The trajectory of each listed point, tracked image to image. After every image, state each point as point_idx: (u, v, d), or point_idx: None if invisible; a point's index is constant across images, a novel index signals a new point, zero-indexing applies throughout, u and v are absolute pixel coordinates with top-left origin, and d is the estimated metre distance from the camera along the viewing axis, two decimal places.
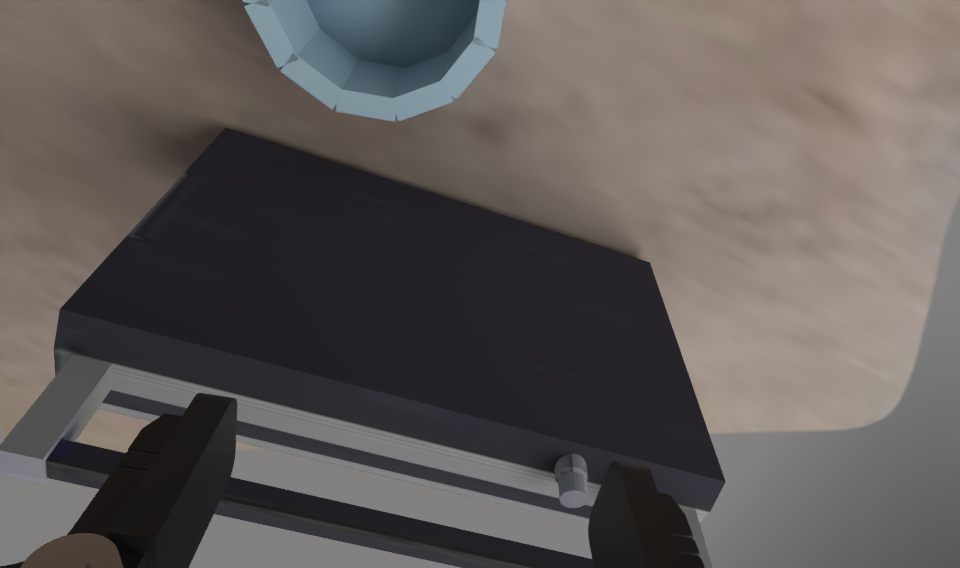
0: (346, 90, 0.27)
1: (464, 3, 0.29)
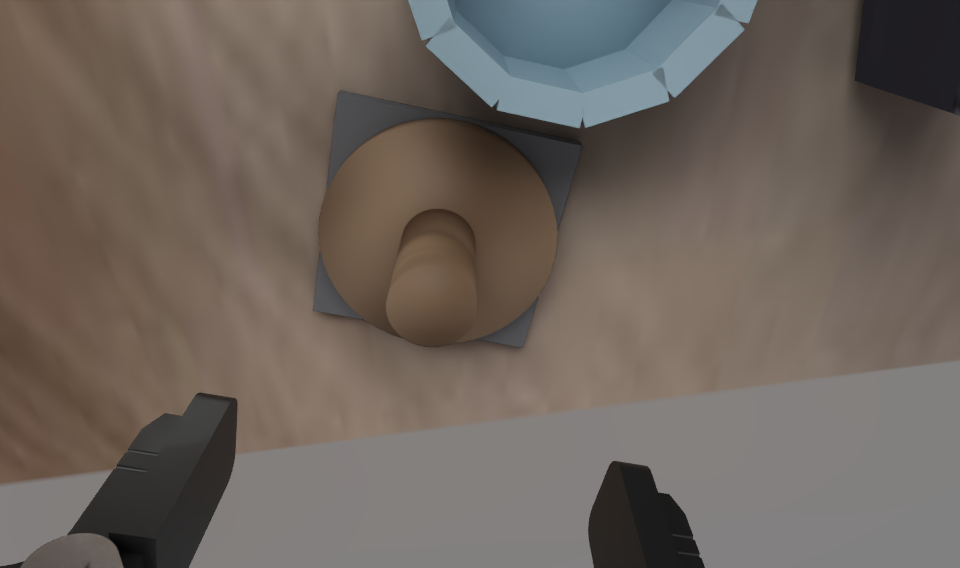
0: None
1: None
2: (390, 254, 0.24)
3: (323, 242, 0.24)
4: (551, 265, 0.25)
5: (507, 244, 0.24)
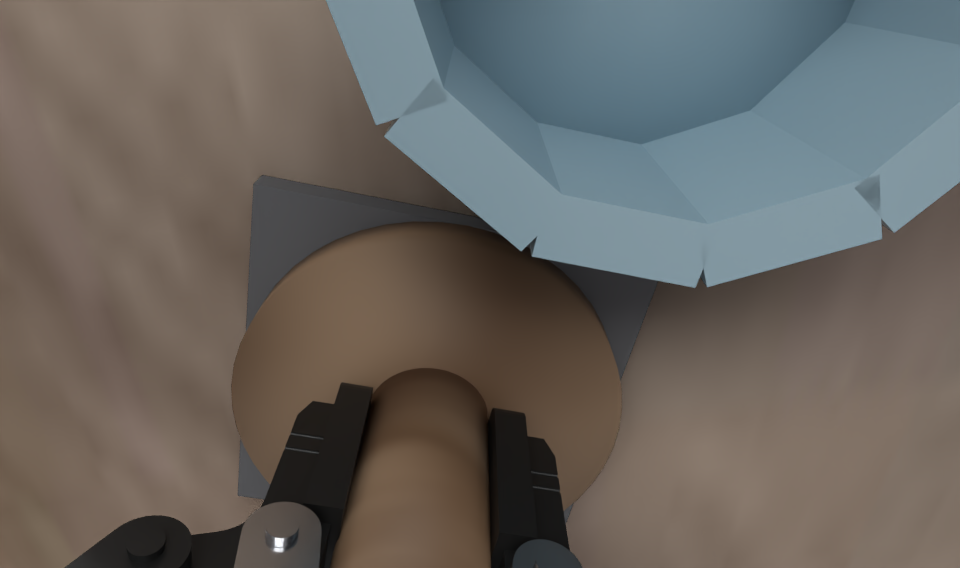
0: None
1: None
2: None
3: (240, 417, 0.15)
4: (610, 447, 0.15)
5: (539, 418, 0.15)
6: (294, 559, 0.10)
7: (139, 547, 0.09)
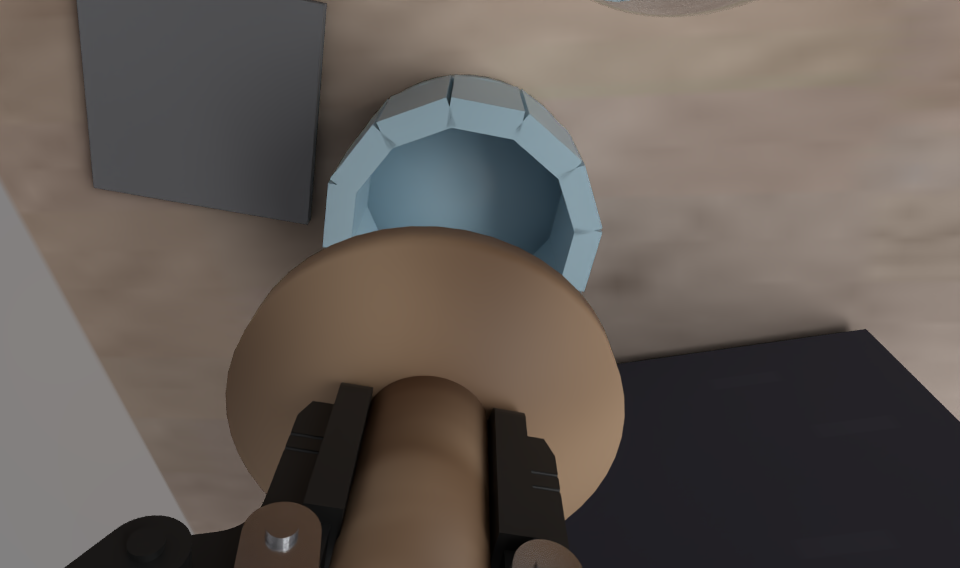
0: None
1: (545, 189, 0.27)
2: None
3: (235, 425, 0.15)
4: (612, 456, 0.15)
5: (540, 426, 0.15)
6: (294, 559, 0.10)
7: (139, 547, 0.09)
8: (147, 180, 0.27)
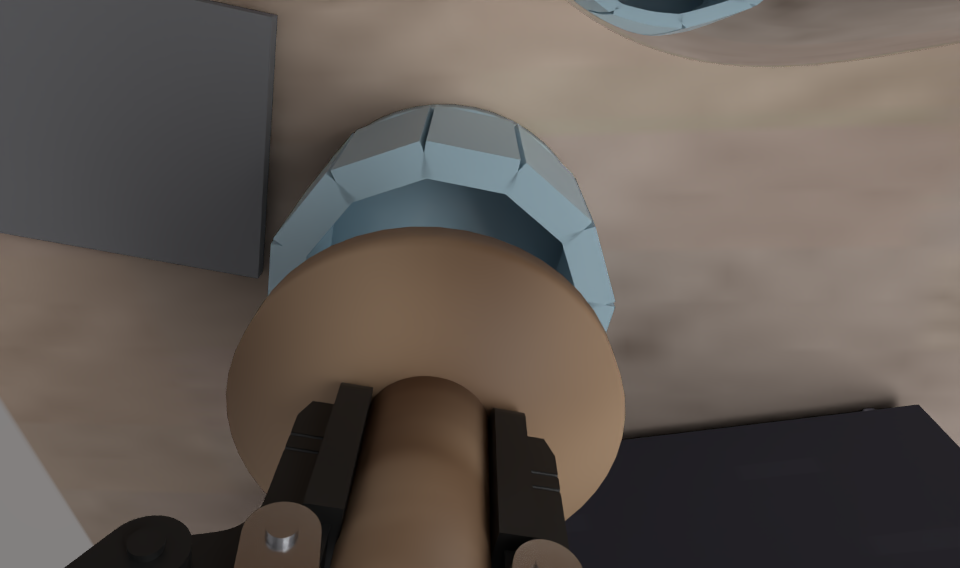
0: None
1: (544, 242, 0.22)
2: None
3: (236, 426, 0.15)
4: (613, 456, 0.15)
5: (541, 427, 0.15)
6: (294, 559, 0.10)
7: (139, 547, 0.09)
8: (62, 224, 0.22)
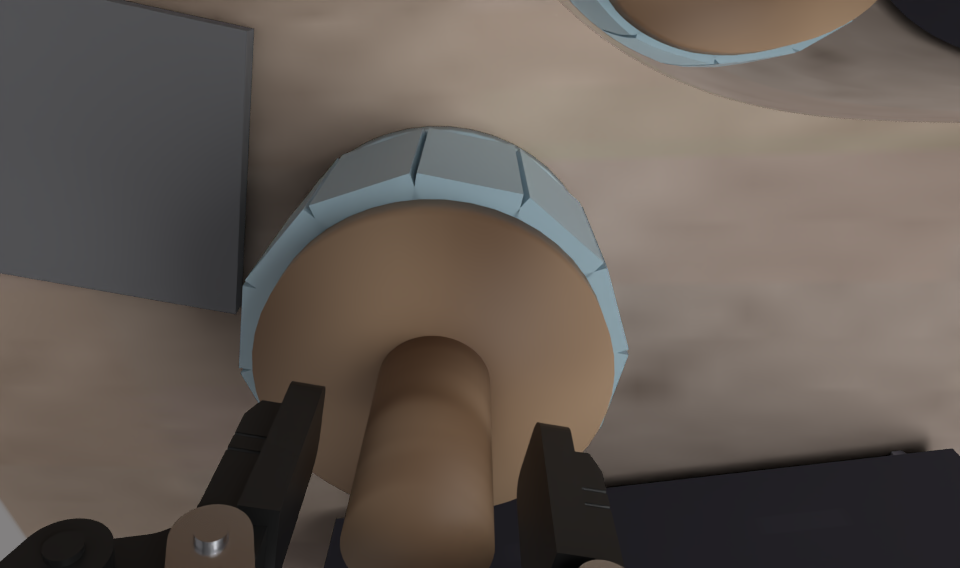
0: None
1: None
2: (362, 398, 0.16)
3: (260, 383, 0.16)
4: (604, 411, 0.17)
5: (538, 384, 0.16)
6: (221, 563, 0.09)
7: (57, 552, 0.09)
8: (20, 256, 0.20)
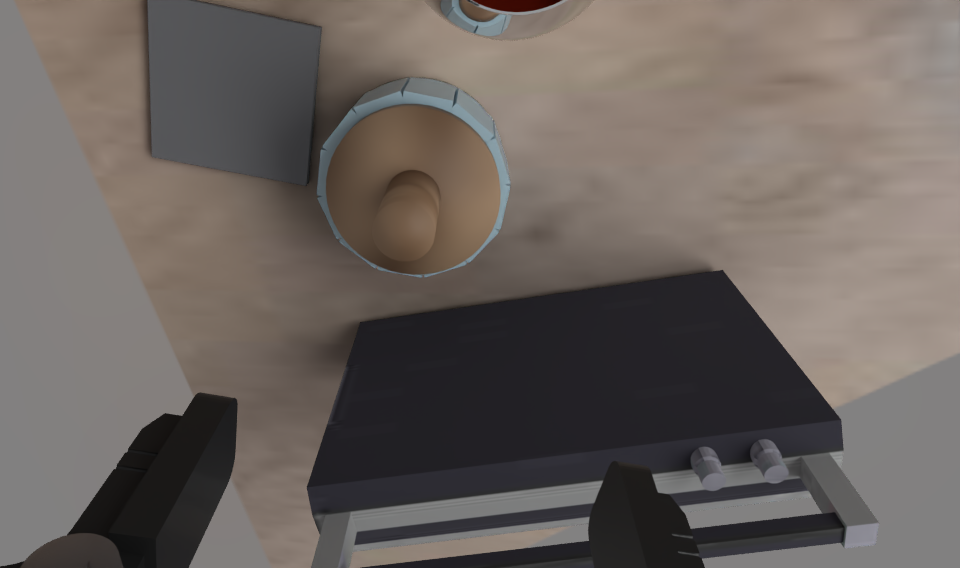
0: None
1: None
2: (378, 205, 0.33)
3: (329, 196, 0.33)
4: (497, 212, 0.34)
5: (464, 196, 0.33)
6: None
7: None
8: (191, 151, 0.38)
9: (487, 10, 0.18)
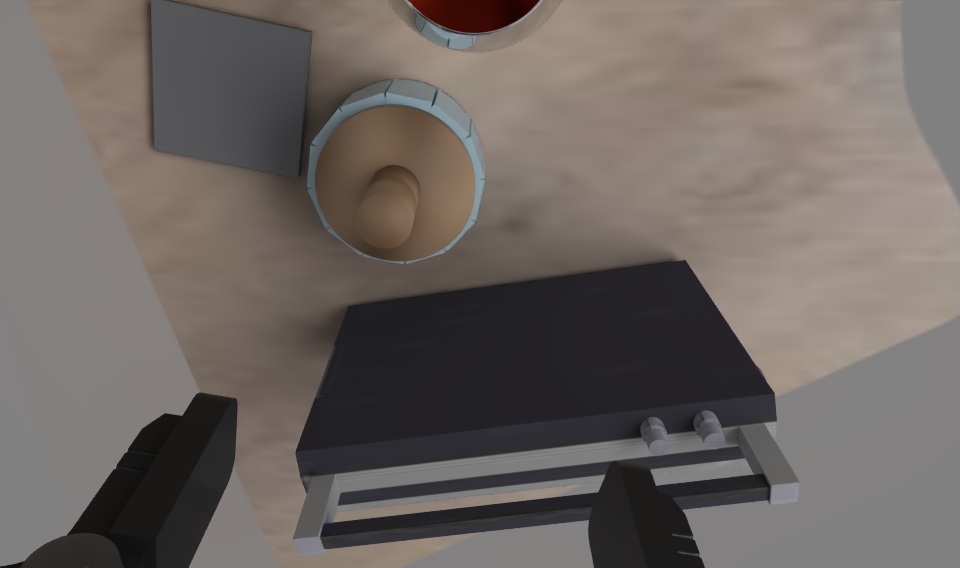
0: None
1: None
2: (363, 197, 0.36)
3: (317, 189, 0.36)
4: (472, 204, 0.37)
5: (441, 189, 0.36)
6: None
7: None
8: (190, 145, 0.40)
9: (448, 31, 0.21)
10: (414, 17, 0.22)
